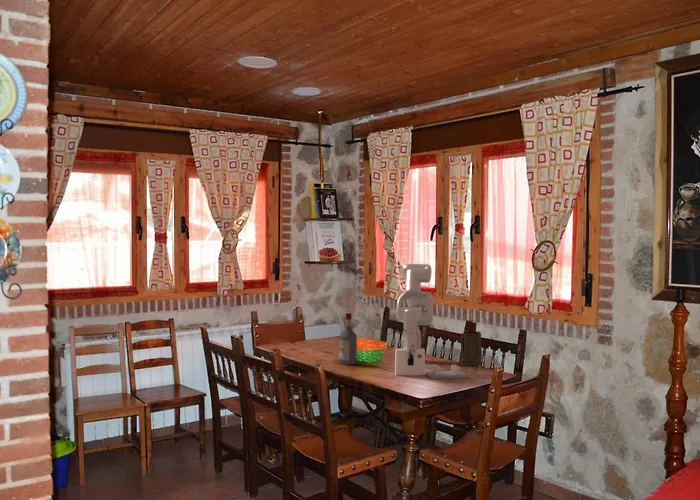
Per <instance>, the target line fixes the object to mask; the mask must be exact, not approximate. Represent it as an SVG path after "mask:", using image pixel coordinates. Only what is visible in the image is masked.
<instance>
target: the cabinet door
mask: <svg viewBox="0 0 700 500" xmlns="http://www.w3.org/2000/svg"><path fill="white" fill-rule="evenodd" d="M394 351H395V352H394V375H395V376H425V375H426V370H425V368H426V367H425V364H426V356H425V355H426V350H425V348H420V349H416V352H415V353H414V365H410V366H408V353H407V352H406V350H405V349H403V348H395V350H394ZM410 352H411V351H410Z"/></svg>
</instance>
